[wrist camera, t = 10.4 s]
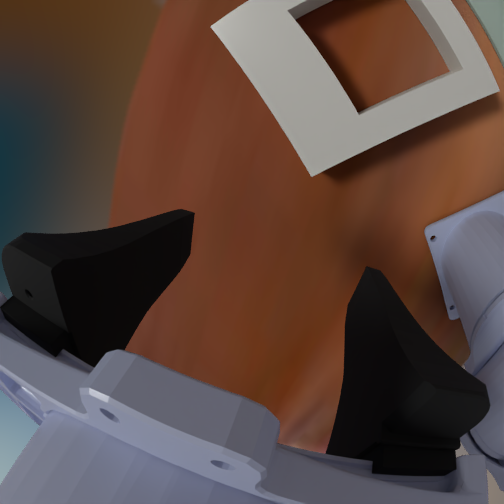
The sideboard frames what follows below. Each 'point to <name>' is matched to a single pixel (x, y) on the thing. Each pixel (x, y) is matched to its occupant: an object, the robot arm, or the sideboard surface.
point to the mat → (491, 22)
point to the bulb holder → (330, 90)
